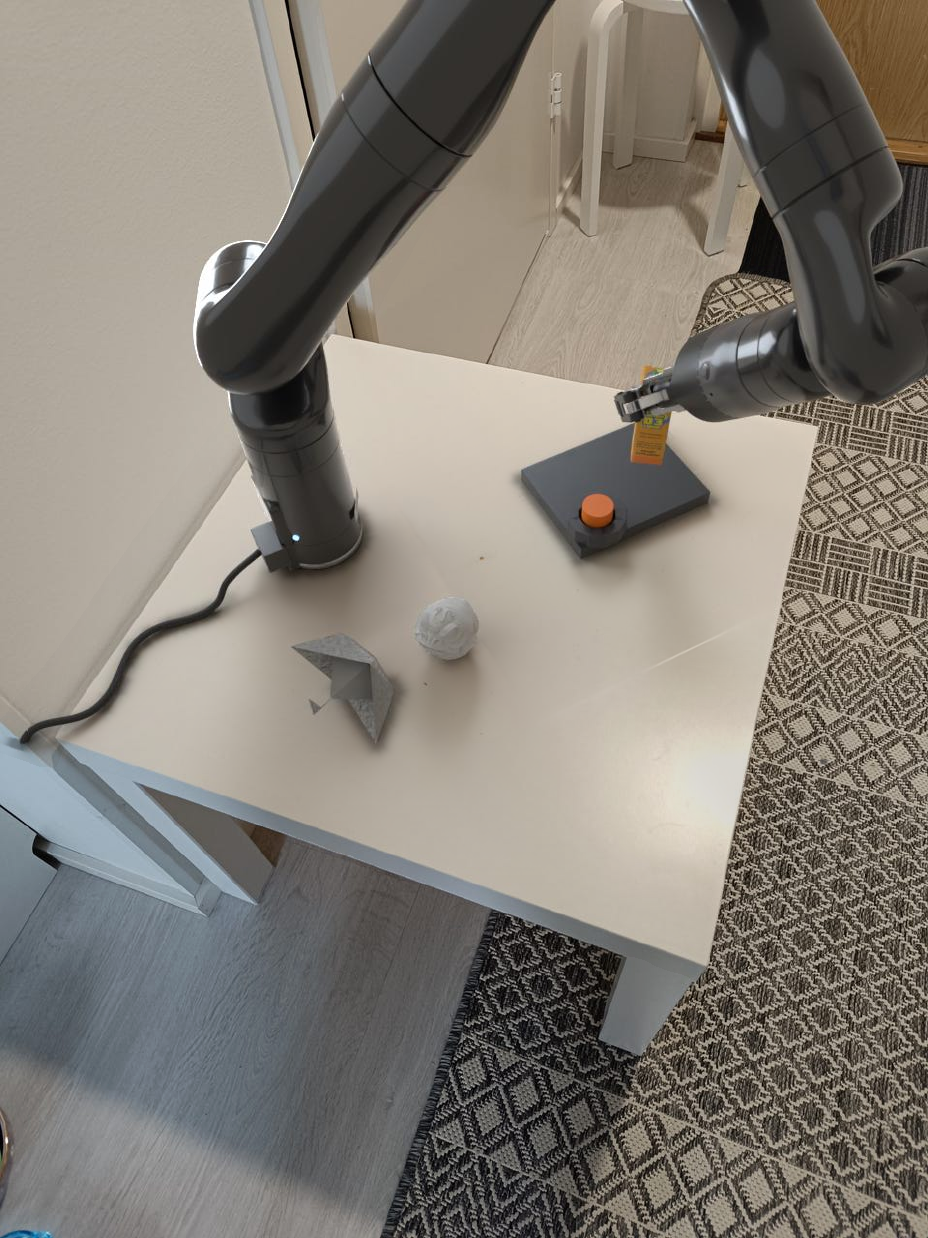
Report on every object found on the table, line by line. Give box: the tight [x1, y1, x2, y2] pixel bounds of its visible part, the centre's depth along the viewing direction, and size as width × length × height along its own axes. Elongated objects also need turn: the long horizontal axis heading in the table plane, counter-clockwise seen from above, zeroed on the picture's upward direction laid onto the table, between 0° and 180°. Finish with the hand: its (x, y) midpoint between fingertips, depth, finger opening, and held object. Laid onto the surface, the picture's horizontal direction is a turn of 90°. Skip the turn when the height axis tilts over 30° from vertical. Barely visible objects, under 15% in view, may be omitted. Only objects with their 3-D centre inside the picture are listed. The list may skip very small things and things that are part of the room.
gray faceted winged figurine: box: [290, 632, 395, 744], centre depth 84 cm, size 12×6×9 cm
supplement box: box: [631, 365, 673, 465], centre depth 86 cm, size 3×4×10 cm
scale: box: [520, 422, 711, 560], centre depth 98 cm, size 16×14×4 cm
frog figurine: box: [413, 596, 480, 661], centre depth 86 cm, size 6×7×7 cm
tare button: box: [581, 494, 614, 528], centre depth 93 cm, size 3×3×2 cm
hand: (643, 396), depth 87 cm, fingers closed on supplement box, 4 cm apart
